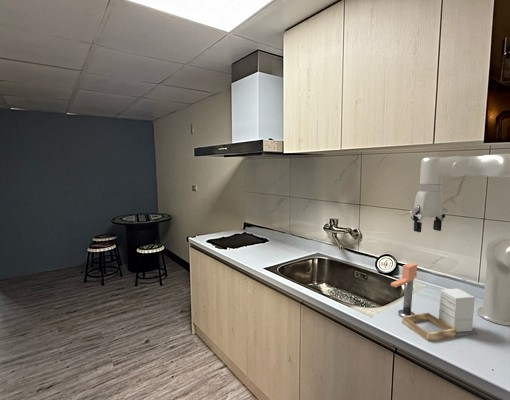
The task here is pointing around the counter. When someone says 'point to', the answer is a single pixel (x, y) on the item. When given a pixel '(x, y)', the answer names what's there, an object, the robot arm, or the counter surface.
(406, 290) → the post
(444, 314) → the white drawer cabinet
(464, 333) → the coaster
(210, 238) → the counter surface
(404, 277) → the lever
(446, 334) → the frame
